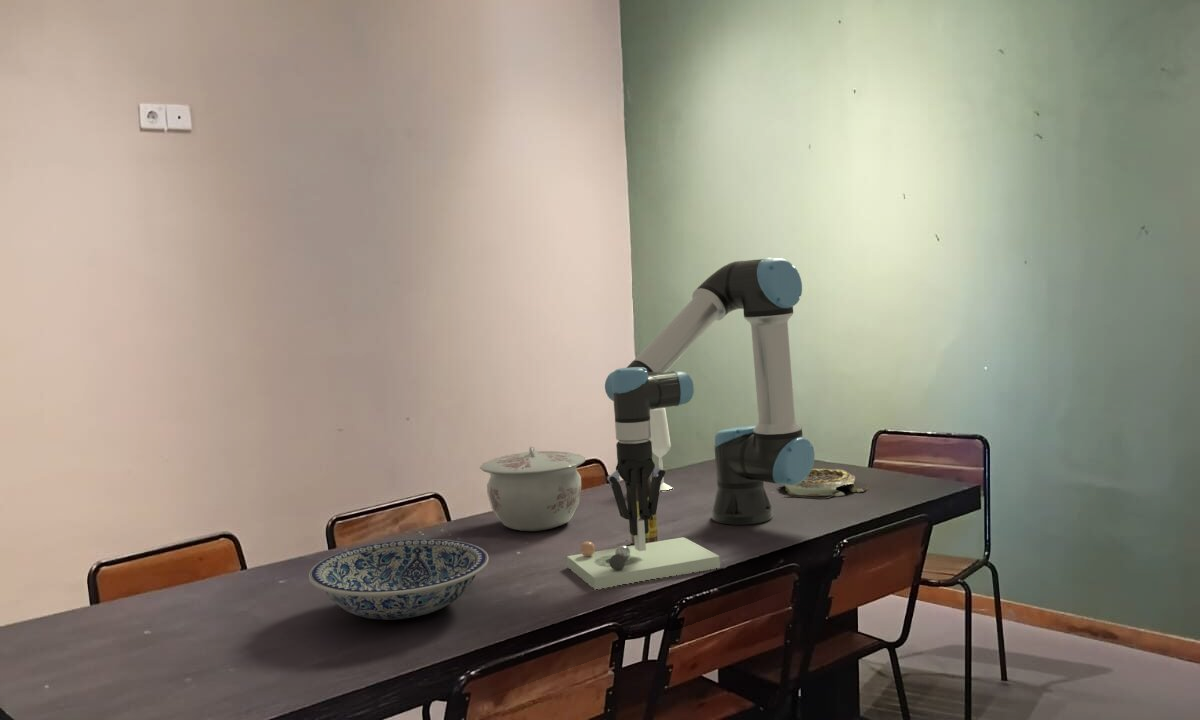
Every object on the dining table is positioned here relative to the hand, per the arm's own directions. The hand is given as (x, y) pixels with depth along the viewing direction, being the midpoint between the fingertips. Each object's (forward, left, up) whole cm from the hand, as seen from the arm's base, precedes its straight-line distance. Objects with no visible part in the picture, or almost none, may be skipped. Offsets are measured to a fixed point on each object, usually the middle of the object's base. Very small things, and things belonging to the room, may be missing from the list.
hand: (640, 549), depth 204 cm
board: (0, 0, -4) cm, 4 cm away
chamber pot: (+9, -50, -4) cm, 51 cm away
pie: (-72, -44, -5) cm, 85 cm away
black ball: (+8, +6, 0) cm, 10 cm away
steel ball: (+4, 0, 0) cm, 4 cm away
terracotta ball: (+10, -7, 0) cm, 12 cm away
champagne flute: (-35, -70, -4) cm, 79 cm away
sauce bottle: (-8, -18, -4) cm, 20 cm away
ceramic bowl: (+51, +1, -4) cm, 51 cm away
